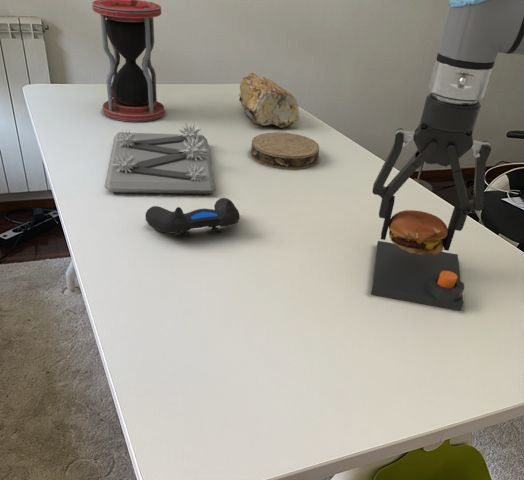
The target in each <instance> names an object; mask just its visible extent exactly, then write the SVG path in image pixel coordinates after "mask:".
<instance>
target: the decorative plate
mask: <svg viewBox="0 0 524 480" xmlns="http://www.w3.org/2000/svg"><path fill="white" fill-rule="evenodd" d="M195 125H196V122H194V123H193V125H192V122H189V124H187V123H184V126H182V127H181V129H178V132H180V133H179V134H178V133H155V132H154V133H153V132H151V133H150V132H149V133H148V132H131V130H125V131H123V130H121V131H120V132H117V133H116V134H115V135H114V137H113V141H112V146H111V152H110V157H109V162H108V166H107V167H108V168H107V171H106V177H105V178H106V179H105V182H104V188H105V189H106V190H107V191H109V192H110V193H132V194H133V193H134V194H137V193H138V194H143V193H144V194H188V195H189V194H191V195H192V194H193V195H195V194H197V195H198V194H199V195H211V194H212V193H213V192H214V191H216V188H217V187H216V183H215V178H214V171H213V165H212V159H211V153H210V148H209V141H208V139H207V138H206V137H205V136H204V135H203V134H202V133H199V132H200V131H201V130H202V128H199V126H197V127H196V126H195ZM127 131H128V132H127Z"/></svg>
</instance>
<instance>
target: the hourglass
mask: <svg viewBox="0 0 524 480" xmlns="http://www.w3.org/2000/svg"><path fill="white" fill-rule="evenodd" d="M91 6H92V11H93V12H94V13H96V14H99V16H100V26H101V36H102V47H103V50H104V53H105V54H106V56H107V57H108V61H109V71H108V73H107V76H106V90H107V100H106V101H105V102H103V104H102V112H103V114H104V116H106V117H108V118H110V119H113V120H118V121H123V122H133V123H139V122H149V121H150V122H151V121H154V120H155V121H156V120H158V119H161V118H162V117H164V115H165V106H164V104H163V103H161V102H159V101H158V98H157V97H158V95H157V74H156V70H155V68H154V67H153V65H152V60H151V56H152V55H151V54H152V51H153V49H154V46H155V26H154V25H155V24H154V23H155V21H154V18H157V17H160V16H161V15H162V6H161V5H160V4H158V3H155V2H153V1H146V0H93V1H92V2H91ZM109 42H110V45H111V48H112V50H113V54H112V52H111V50H110V48H109ZM144 51H145V52H144ZM142 53H144V55H143V57H142V61H141V66H140V65H138V63H137V59H138V58H139V57H140V56H141V55H142ZM121 56H122V57H123V58H124V60H125V62H124V64H123V65H122V67H120V69H119V70H118V68H119V65H120V64H121V63H120V62H121ZM149 72H150V73H149Z"/></svg>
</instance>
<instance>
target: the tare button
mask: <svg viewBox="0 0 524 480" xmlns="http://www.w3.org/2000/svg"><path fill="white" fill-rule="evenodd" d="M456 280H457V275H456V274H455V273H453V272H451V271H442V272H441V273H440V276H439V279H438V282H437V284H438V285H439V286H442V287H444V288H449V289H450V288H454V286H455V283H456Z"/></svg>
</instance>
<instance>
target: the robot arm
mask: <svg viewBox="0 0 524 480" xmlns="http://www.w3.org/2000/svg"><path fill="white" fill-rule="evenodd" d="M499 53H502V54H507V55H511V54H513V55H521V56H524V0H449V1H448V9H447V13H446V18H445V22H444V26H443V30H442V34H441V38H440V43H439V46H438V50H437V54H436V58H435V61H434V65H433V69H432V73H431V77H430V82H429V84H428V90H429V92H430V93H429V94H427V96H426V98H425V102H424V105H423V109H422V113H421V117H420V121H419V124H418V126H417V128H416V129H415V130H413V131H412V130H404V129H403V128H402V127H400V128H397V129H396V130H395V135H394V141H393V142H394V143H393V145H392V147H391V149H390V151H389V153H388V155H387V158H386V159H385V161H384V163H383V165H382V166H381V169H380V171H379V173H378V174H377V177H376V178H375V180H374V182H373V185H372V194H373V195H374V196H375V195H376V196H379V197H380V198H381V201H380V206H379V211H378V217H379V218H380V219H383V224H382V228H381V233H380V240H382V241H386V239H387V235H388V231H389V222H390V219H391V217H392V214H393V210H394V206H395V199H396V196H395V195H396V193H397V192H398V191H399V190H400V189H401V188H402V187H403V186H404V184H405V183H406V182H407V181H408V180H409V179H410V178H411V176H412V175H413V174H414V173H415V172H416V171H417V170H418V169H420V167H421V166H422V165H423V164H424V163H425V164H427V165H439V166H441V167H448V166H450V170H451V173H452V177H453V182H454V185H455V189H456V190H455V191H456V193H457V197H458V201H459V202H458V203H459V205H454V207H453V210H452V214H451V217H450V220H449V222H448V226H447V229H448V234H447V236H446V237H445V240H444V247H443V250H444V251H447V252H448V251H450V247H451V245H452V242H453V238H454V235H455V232H456V231H458V232H460V231H462V230H463V229H464V226H465V224H466V221H467V217H468V215H469V214H470V213H471V212H473V211H474V212H475V211H477V212H480V211H482V210H483V209H484V200H485V183H486V182H485V181H486V169H487V168H486V167H487V166H486V165H487V161H488V159H489V156H490V154H491V151H492V147H491V143H490V141H488V140H483V141H479V140H475V139H473V134H474V130H475V127H476V124H477V120H478V117H479V114H480V111H481V107H482V105H481V100H482V99H483V98H484V97H485V94H486V90H487V88H488V85H489V81H490V77H491V74H492V71H493V68H494V66H495V62H496V58H497V56H498V54H499ZM412 141H413V142H414V145H415V147H416V148H417V149H416V151H415V152H414V153H413V155H412V156H411V157H410V159H409V160H408V161H407V163H406V164H405V165H404V166H403V167H402V168H401V169H400V171H399V172H398V173H397V174H396V175H395V176H394V177H393V178H392V180H391V181H390V182H389V183H388V184H387V186H385V184H386V182H387V180H388V178H389V176H390V175H391V173H392V170H393V168H394V167H395V164H396V162H397V161H398V159H399V157H400V155H401V153H402V150H403V148H405V147H407V146H408V145H409V143H410V142H412ZM470 150H472V154H473V157H474V158H475V160H474V161H475V162H474V163H475V164H474V181H473V182H474V184H473V199H469V198H468V194H467V190H466V189H467V188H466V185H465V181H464V177H463V172H462V168H461V164H460V159H461V157H463V156H464V155H465V154H466V153H467V152H469V151H470Z"/></svg>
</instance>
